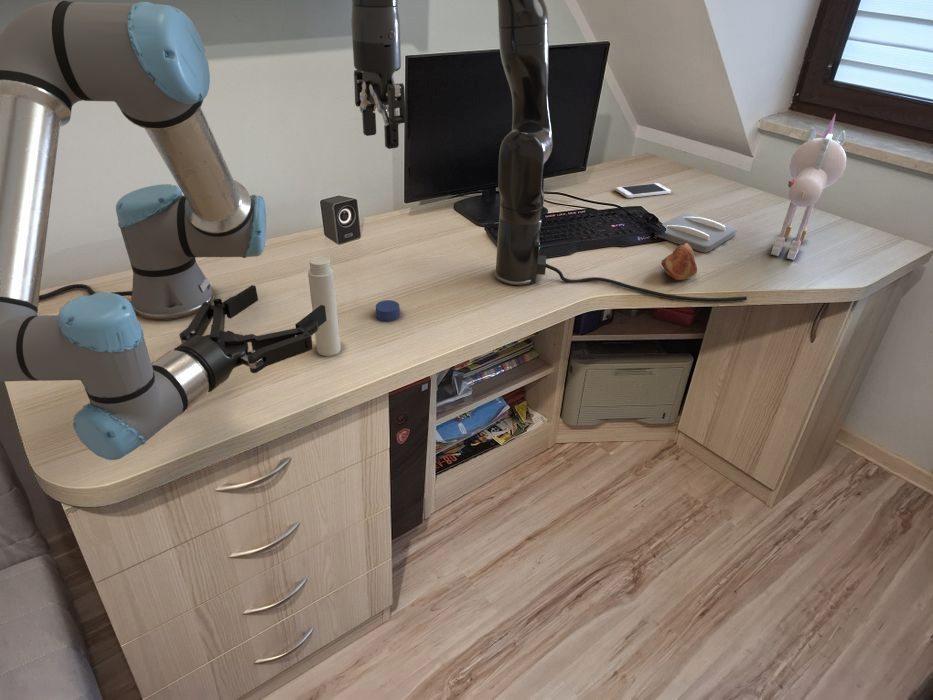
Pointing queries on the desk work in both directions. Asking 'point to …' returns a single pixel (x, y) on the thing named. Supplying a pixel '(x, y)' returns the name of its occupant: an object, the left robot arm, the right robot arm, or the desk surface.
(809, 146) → the toy
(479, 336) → the desk surface
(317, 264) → the bottle
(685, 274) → the brown lumpy piece
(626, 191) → the smartphone
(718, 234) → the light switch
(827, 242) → the desk surface
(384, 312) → the lid
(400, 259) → the desk surface
